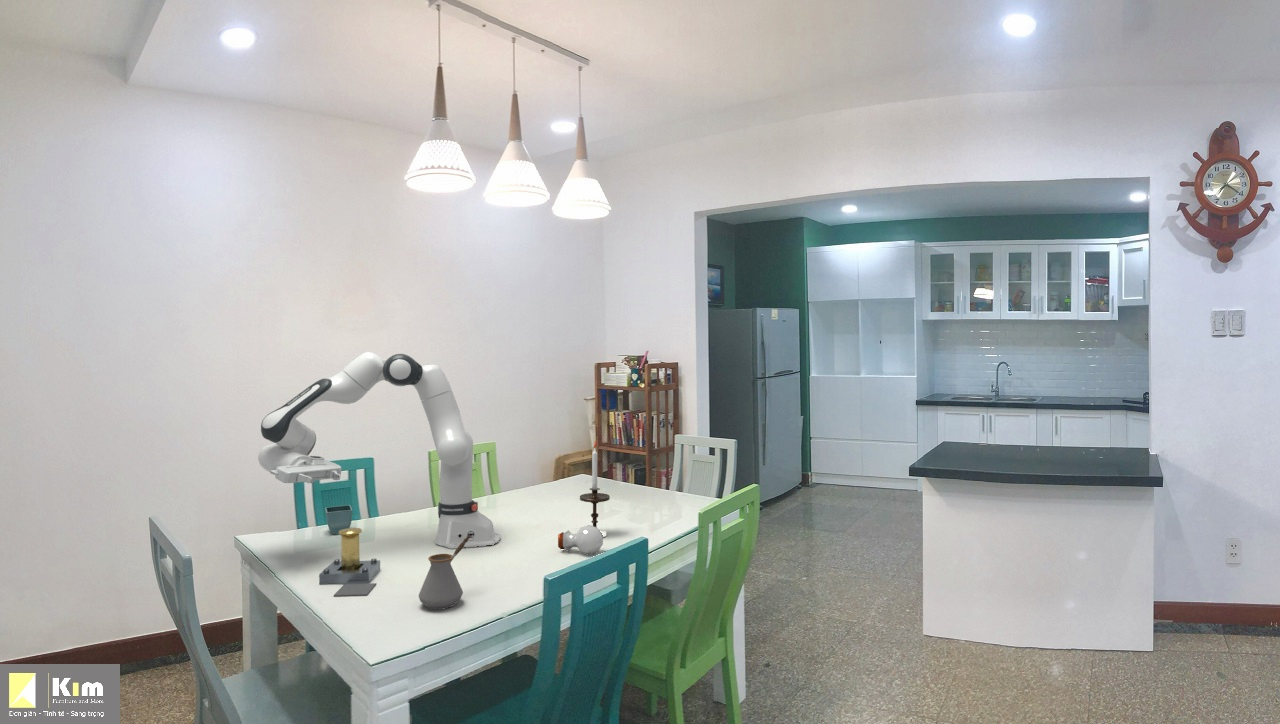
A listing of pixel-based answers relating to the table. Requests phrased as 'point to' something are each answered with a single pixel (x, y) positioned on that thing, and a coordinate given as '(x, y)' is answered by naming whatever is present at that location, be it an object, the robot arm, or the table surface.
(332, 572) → the housing
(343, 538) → the brass flanged cylinder
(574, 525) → the table surface
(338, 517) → the flower pot
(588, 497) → the candlestick
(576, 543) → the potion bottle
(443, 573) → the coffee pot
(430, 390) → the robot arm
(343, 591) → the pad
